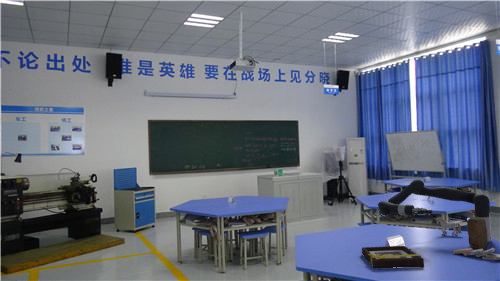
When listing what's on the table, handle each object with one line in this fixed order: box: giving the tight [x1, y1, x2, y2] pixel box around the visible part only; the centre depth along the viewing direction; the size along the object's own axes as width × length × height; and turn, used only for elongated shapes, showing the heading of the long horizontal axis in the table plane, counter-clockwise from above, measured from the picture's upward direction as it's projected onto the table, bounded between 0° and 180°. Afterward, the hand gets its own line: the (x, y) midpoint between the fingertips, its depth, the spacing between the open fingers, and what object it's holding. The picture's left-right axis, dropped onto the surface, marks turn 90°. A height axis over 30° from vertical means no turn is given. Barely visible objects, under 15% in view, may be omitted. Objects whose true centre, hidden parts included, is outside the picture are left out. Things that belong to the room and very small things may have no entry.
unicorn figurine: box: [432, 216, 463, 236], centre depth 276 cm, size 7×20×13 cm, turn 70°
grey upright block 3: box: [475, 247, 496, 258], centre depth 218 cm, size 2×5×10 cm
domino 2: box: [462, 249, 485, 257], centre depth 222 cm, size 2×5×10 cm
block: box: [466, 216, 489, 250], centre depth 240 cm, size 11×8×20 cm
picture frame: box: [361, 245, 425, 269], centre depth 222 cm, size 28×7×30 cm
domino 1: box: [452, 247, 474, 255], centre depth 227 cm, size 2×5×10 cm
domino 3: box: [481, 255, 498, 261], centre depth 215 cm, size 2×5×10 cm
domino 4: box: [486, 252, 500, 260], centre depth 213 cm, size 2×5×10 cm
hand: (431, 211), depth 240 cm, fingers closed
